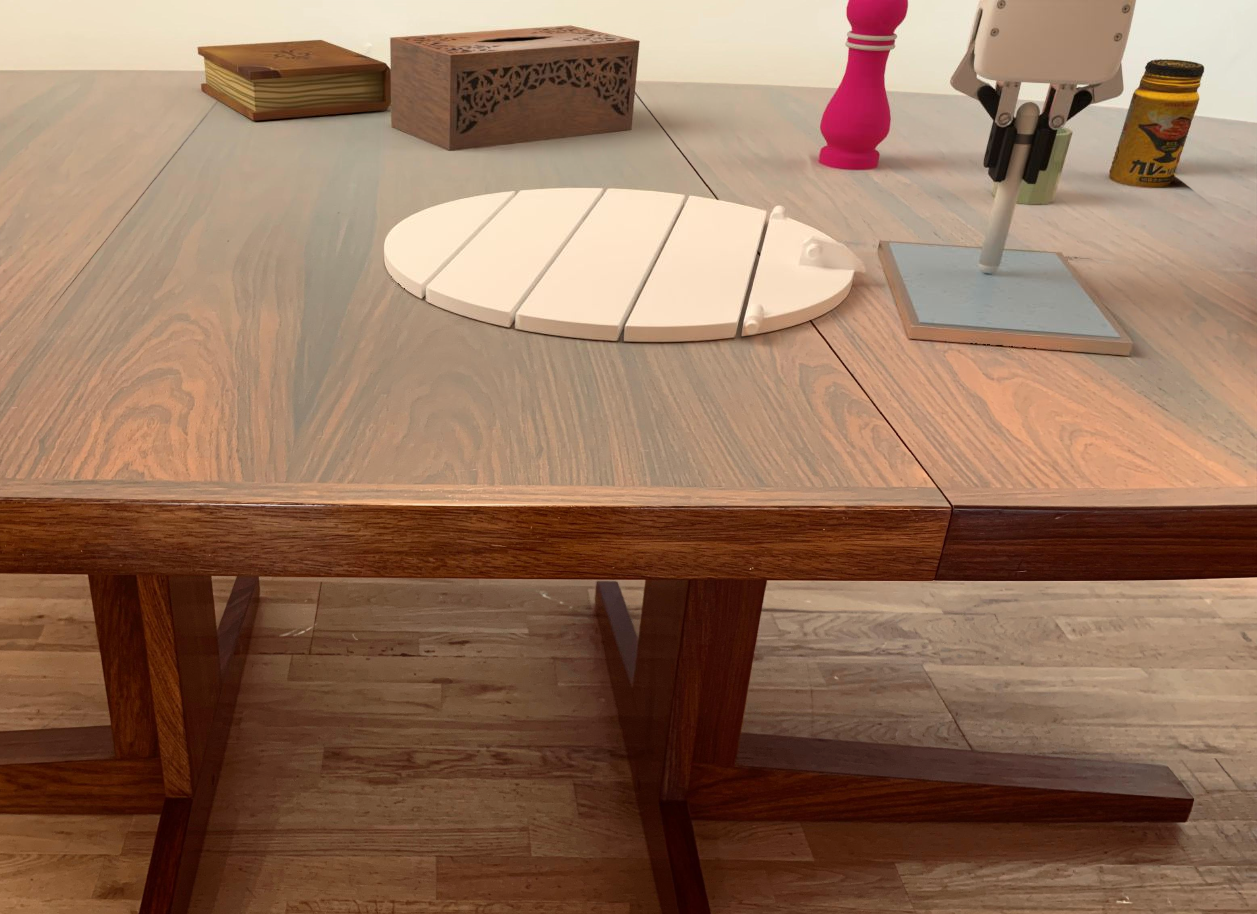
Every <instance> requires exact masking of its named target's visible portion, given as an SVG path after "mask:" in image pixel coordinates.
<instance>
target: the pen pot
mask: <svg viewBox="0 0 1257 914" xmlns="http://www.w3.org/2000/svg"><path fill="white" fill-rule="evenodd" d="M1072 136H1073V130H1071V129H1070V128H1068V127H1065V126H1063V127H1062V128H1061V129H1058V130H1057V134H1056V138H1055V141H1054V145H1053V149H1052V152H1051V156H1050V160H1049V163H1048V167H1047V169H1046V171H1039V174H1038V178H1037V182H1036V184H1027V183H1026V182H1025V181H1024V180H1023V179H1022V183H1021V187H1020V190H1019V194H1018V198H1017V202H1016V205H1024V206H1025V205H1027V206H1043V205H1049V204H1052V203H1053V202H1054V199H1055V196H1056V193H1057V189H1058V186H1059V184H1060V183H1059V182H1060V179H1061V175H1062V172H1063V169H1064V164H1065V161H1066V158H1067V154H1068V151H1069V146H1070V144H1071V140H1072ZM998 184H999V182H994V185H993V188H992V191H991V195H992V196H993V198H995V196H996V192H997V188H998Z"/></svg>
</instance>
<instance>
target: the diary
mask: <svg viewBox="0 0 1257 914" xmlns="http://www.w3.org/2000/svg"><path fill="white" fill-rule="evenodd" d="M197 55H198V56H201V57H203V61H204V63H203V64H204V71H205V73H204V74H205V82H204V83H200V88H201V90H200V91H201V92H203V93H205V94H206V95H208V96H210V97H212V98H214V99H215V100H217V101H219V102H221V103H222V104H224V105H226V106H227V107H229V108H231V109H232V110H234V111H236V112H238V113H240V114H241V115H243V116H244V117H246V118H248V119H250V120H252V121H265V120H277V119H290V118H291V119H292V118H301V117H303V118H304V117H312V116H313V117H314V116H326V115H337V114H339V115H340V114H350V113H351V114H352V113H364V112H373V111H374V112H375V111H386V110H388V108H389V107H390V106H391V67H390V66H389V65H388V64H387V63H386V62H385V61H382V60H379V59H375V58H372V57H370V56H367V55H364V54H361V53H360V52H356V51H354V50H351V49H348V48H345V47H342V46H340V45H336V44H333V43H331V42H328V41H326V40H323V39H312V40H294V41H292V40H291V41H277V42H276V41H275V42H260V43H241V44H240V43H239V44H225V45H205V46H197Z"/></svg>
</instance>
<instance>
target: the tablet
mask: <svg viewBox="0 0 1257 914" xmlns="http://www.w3.org/2000/svg"><path fill="white" fill-rule="evenodd" d="M982 247H983V246H972V245H971V246H969V245H955V244H939V243H924V242H909V241H895V240H894V241H893V240H879V241H878V245H877V254H878V257H879V259H880V262H881V265H882V268H883V271H884V273H885V276H886V279H887V281H888V285H889V287H890V290H891V293H892V296H893V299H894V302H895V304H896V307H897V310H898V312H899V315H900V317H901V321H902V324H903V326H904V329H905V333H906V335H907V338H908V339H909V340H920V341H921V340H922V341H933V342H945V341H946V342H948V343H958V344H959V343H960V344H970V343H973V344H972V345H983V344H986V346H988V345H987V344H990V345H989V346H996V345H1003V346H1002V347H1009V346H1010V347H1011V346H1013V347H1011V348H1022V347H1026V348H1025V349H1034V348H1036V350H1048V351H1050V350H1051V351H1060V350H1061V352H1062V351H1063V352H1073V353H1074V352H1075V353H1085V354H1099V355H1100V354H1101V355H1110V356H1111V355H1113V356H1125V357H1129V356H1130V355H1131V352H1132V349H1133V346H1134V341H1133V340H1132V339H1131V338H1130V337H1129V335H1128V333H1126V331H1125V330H1124V329H1123V328H1122V326H1121V325H1120V324H1119V323H1118V322H1117V320H1116V319H1115V317H1113V315H1112V314H1111V313H1110V311H1109V310H1108V308H1107V307H1106V306H1105V305H1104V304H1103V302H1102V301H1101V300H1100V298H1098V297H1097V295H1096V294H1095V293H1094V291H1093V289H1091V287H1090V286H1089V285H1088V284H1087V282H1086V281H1085V280H1084V278H1082V276H1081V275H1080V273H1079V272H1078V271H1077V270H1076V269H1075V268H1074V266H1073V265H1072V264H1071V262H1070V261H1069V260H1068V259H1067V258H1066V256H1065V255H1064V254H1063V253H1062V252H1061V251H1060V252H1059V251H1046V250H1030V249H1016V248H1015V249H1013V248H1004V251H1003V255H1002V259H1001V262H1000V266H999V268H998V269H997V270H996V271H995V272H993V273H990V274H986V273H983V272H982V271H981V270H980V269H979V266H978V263H979V259H980V255H981V251H982ZM975 343H977V344H975Z"/></svg>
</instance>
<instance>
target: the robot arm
mask: <svg viewBox="0 0 1257 914" xmlns="http://www.w3.org/2000/svg"><path fill="white" fill-rule="evenodd" d="M1136 4H1137V0H978V4H977V8H976V12H975V15H974V18H973V21H972V22H973V23H972V26H971V29H970V32H969V37H968V41H967V45H966V51H965V54H964V56H963V57H962V59H961V61H960V62H959V64H958V66H957V67H956V68H955V71H954V72H953V74H952V76H951V77H950V80H949V84H950V86H951V87H952V89H954V90H956V91H957V92H960V93H961V94H964V95H966V96H967V97H970V98H972V99H975V100H976V101H978V102H980V105H981V106H982V107H983V109H984V110H985V111H986V113H987V114H988V116H989V117H990V118H991V120H992V124H991V128H990V132H989V135H988V140H987V144H986V148H985V152H984V157H983V163H982V164H983V167H984V168H985V169H986V168H987V175H988V177H990V179H991V180H992V181H993V182H994V183H995V182H1002V181H1004V180H1005V178H1006V174H1007V170H1008V166H1009V162H1010V158H1011V154H1012V151H1013V147H1014V143H1015V139H1016V135H1017V129H1016V128H1015V127H1014V123H1015V117H1016V116H1015V112H1016V107H1017V104H1018V100H1019V95H1020V90H1021V86H1022V83H1030V84H1031V83H1032V84H1049V86H1048V90H1047V92H1046V97H1045V99H1044V104H1043V107H1042V110H1041V112H1040V114H1039V118H1038V122H1037V126H1036V130H1035V134H1034V138H1033V142H1032V145H1031V149H1030V152H1029V156H1028V160H1027V164H1026V168H1025V171H1024V175H1023V180H1024V181H1025V182H1026V183H1027V184H1036V182H1037V178H1038V174H1039V171H1046V169H1047V167H1048V163H1049V160H1050V156H1051V152H1052V149H1053V145H1054V141H1055V138H1056V134H1057V130H1058V129H1061V128H1062V127H1065V125H1066V124H1067V122H1068V121H1070V120H1071V119H1072V118H1074V117H1075V116H1076V115H1078V114H1079V113H1080V112H1082V111H1083V110H1085V109H1086V108H1087V107H1088V106H1091V105H1095V104H1096V105H1097V104H1099V103H1102V102H1105V101H1109V100H1112V99H1116V98H1118V97H1120V96H1121V95H1122V94H1123V92H1124V89H1125V88H1124V87H1125V86H1124V77H1123V65H1122V61H1123V58H1124V54H1125V51H1126V47H1127V44H1128V40H1129V36H1130V32H1131V27H1132V23H1133V18H1134V14H1135V8H1136ZM977 75H978V76H979V77H981V78H983V79H986V80H990V81H995V85H994V87H993V86H992V85H991V84H990V83H988V82H985V81H983V80H981V79H980V78H978V77H977ZM1079 85H1080V86H1079Z"/></svg>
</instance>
